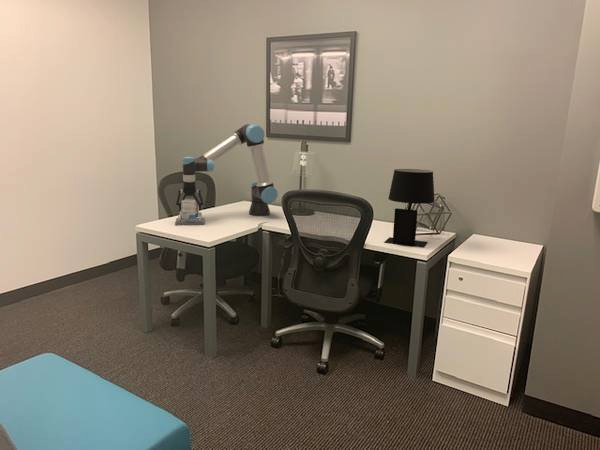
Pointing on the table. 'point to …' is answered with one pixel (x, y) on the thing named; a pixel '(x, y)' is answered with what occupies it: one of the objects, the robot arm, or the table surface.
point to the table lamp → (410, 190)
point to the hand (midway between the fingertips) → (190, 215)
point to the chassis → (190, 220)
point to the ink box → (189, 209)
